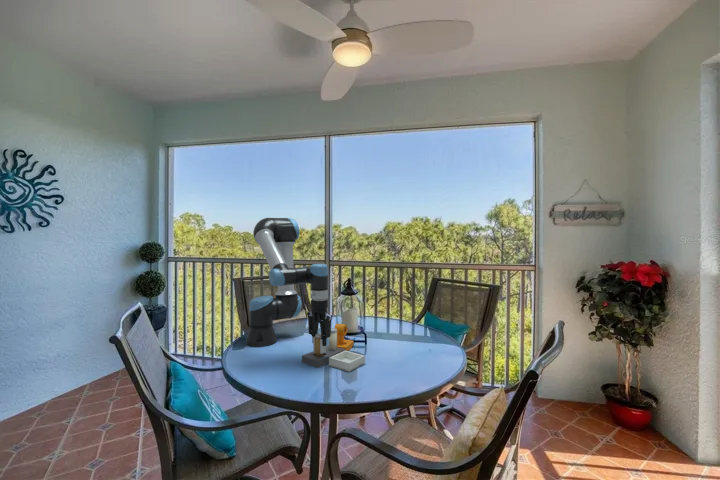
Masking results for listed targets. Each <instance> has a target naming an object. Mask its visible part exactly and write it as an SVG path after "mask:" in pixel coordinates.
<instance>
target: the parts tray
mask: <svg viewBox="0 0 720 480" xmlns="http://www.w3.org/2000/svg"><path fill="white" fill-rule="evenodd" d="M365 364H366V355H362V354H359V353H356V352H352V351H350V350H349V351H343V352H341V353H338V354H336V355H334V356H331V357H329V363H328V366H329V367H332V368H336V369H337V370H342V371H344V372H349V373H350V372H352V371H353V370H356V369H357V368H360V367H361V366H363V365H365Z"/></svg>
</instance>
